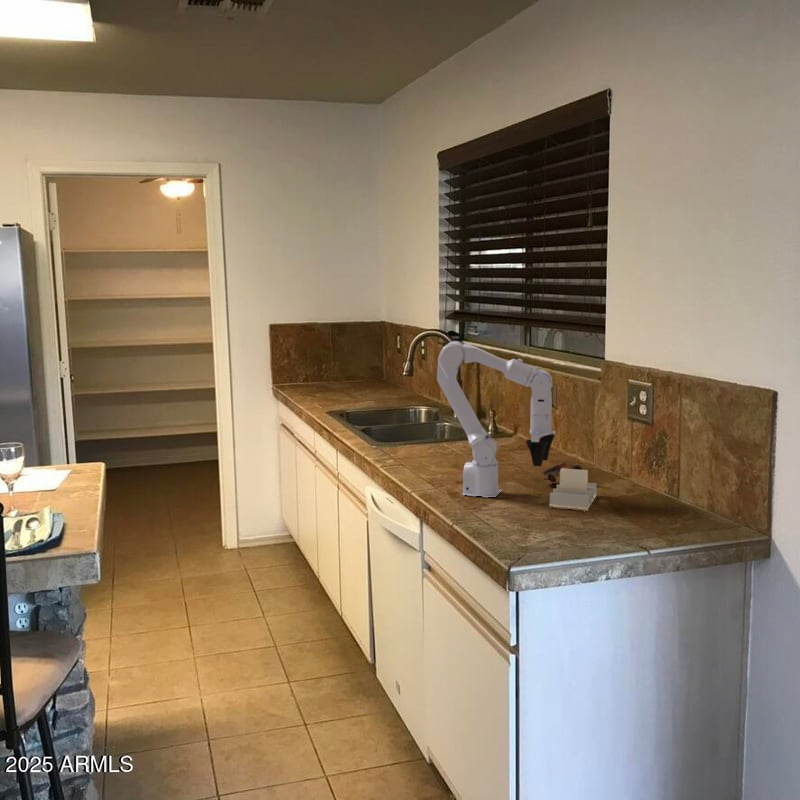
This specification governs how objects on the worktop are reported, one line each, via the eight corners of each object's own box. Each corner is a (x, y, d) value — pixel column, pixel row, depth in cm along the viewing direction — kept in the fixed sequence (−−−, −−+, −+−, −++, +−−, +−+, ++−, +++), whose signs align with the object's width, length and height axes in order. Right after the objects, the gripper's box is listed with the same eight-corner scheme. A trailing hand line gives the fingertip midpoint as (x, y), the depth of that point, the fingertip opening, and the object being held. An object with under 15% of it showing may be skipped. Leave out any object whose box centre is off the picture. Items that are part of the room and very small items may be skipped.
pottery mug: (561, 494, 244) (548, 468, 246) (546, 501, 253) (534, 476, 254) (594, 479, 249) (581, 453, 250) (579, 486, 257) (566, 461, 259)
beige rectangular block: (559, 499, 234) (560, 470, 233) (561, 497, 236) (561, 468, 235) (585, 501, 231) (586, 472, 230) (587, 499, 233) (587, 470, 232)
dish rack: (549, 508, 229) (549, 493, 228) (560, 494, 242) (560, 480, 242) (587, 511, 225) (587, 496, 224) (596, 497, 239) (596, 483, 238)
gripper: (550, 419, 229) (549, 469, 232) (560, 411, 243) (559, 458, 245) (523, 418, 232) (523, 467, 234) (535, 409, 245) (535, 456, 247)
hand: (540, 462), depth 240 cm, fingers open, 7 cm apart
